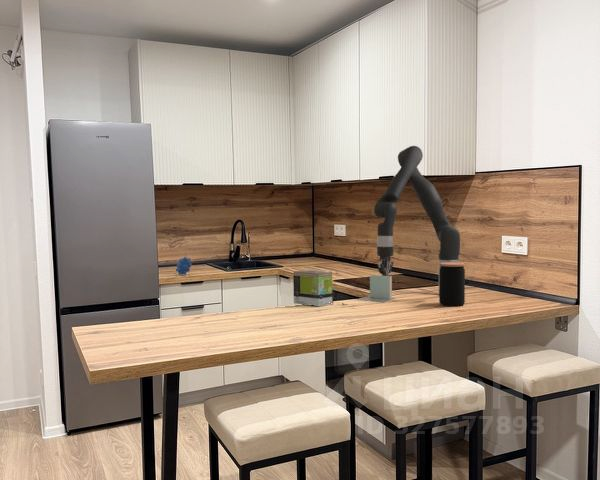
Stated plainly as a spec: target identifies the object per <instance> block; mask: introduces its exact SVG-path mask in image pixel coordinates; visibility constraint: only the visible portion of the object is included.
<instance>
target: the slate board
mask: <svg viewBox="0 0 600 480" xmlns="http://www.w3.org/2000/svg"><path fill="white" fill-rule="evenodd" d="M396 299H397V298H396V297H392V298H391V299H387V298H375V297H370V295H368V296H364V297H361V298H357V299H355V301H361V302H372V303H373V302H374V303H386V302H390V301H392V300H396Z"/></svg>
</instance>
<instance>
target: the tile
mask: <svg viewBox="0 0 600 480" xmlns="http://www.w3.org/2000/svg"><path fill="white" fill-rule="evenodd" d="M369 296H370V297H375V298H387V299H391V298H393V276H392V275H388V276H382V274H380V275H377V274H370V275H369Z"/></svg>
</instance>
